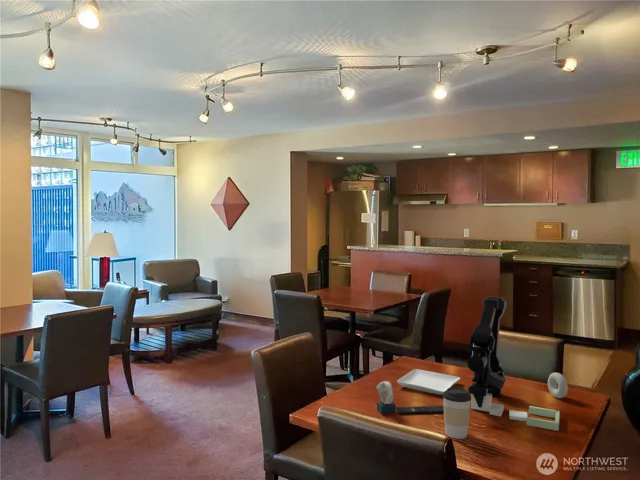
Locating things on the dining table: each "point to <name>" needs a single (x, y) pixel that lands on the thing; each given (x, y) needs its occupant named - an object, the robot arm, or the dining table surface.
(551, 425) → the green c-shaped block
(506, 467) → the dining table surface
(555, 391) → the donut
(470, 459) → the dining table surface
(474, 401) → the scraper
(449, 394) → the coffee cup
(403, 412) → the remote control
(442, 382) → the salad plate
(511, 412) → the tile
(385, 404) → the abstract loop sculpture
